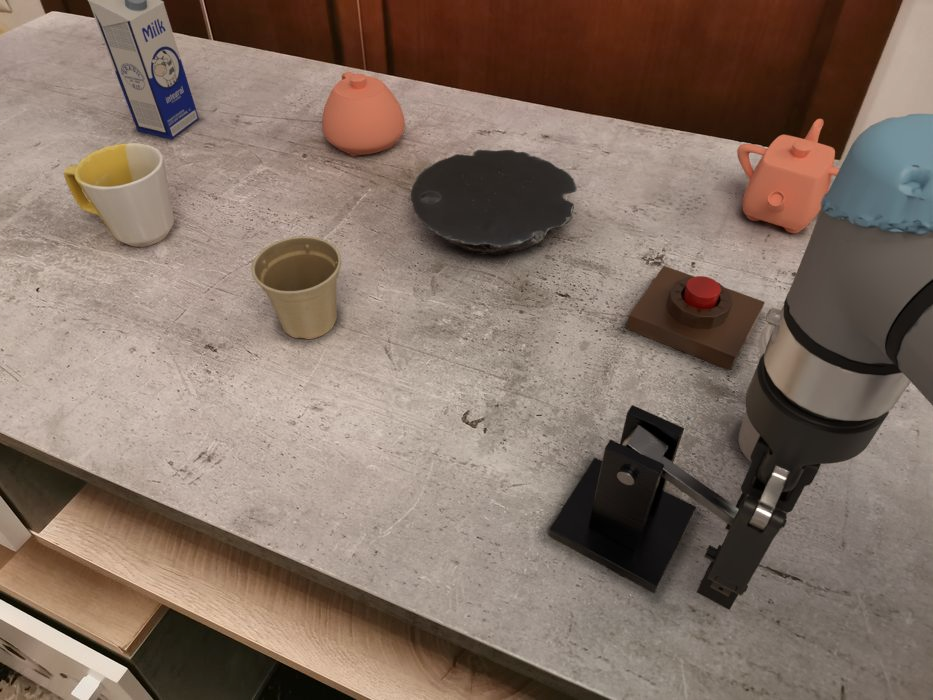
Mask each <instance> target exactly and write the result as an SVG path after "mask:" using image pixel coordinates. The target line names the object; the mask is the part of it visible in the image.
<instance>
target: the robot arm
mask: <svg viewBox="0 0 933 700" xmlns="http://www.w3.org/2000/svg"><path fill="white" fill-rule="evenodd" d="M839 168H840V170H839V172H838V174H837V175H836V176H834V177H835V178H834V179H833V182H831V184H830V187H829V191H828V192H827V193H826V194H825V195H824V196H823V199H822V202H821V210H820V211H819V213H818V216H817V218H816V221H815V224H814V227H813V229H812V233H811V235H810V239H809V240H808V242H807V245H806V247H805V250H804V252H803V256H802V258H801V261H800V263H799V266H798V268H797V271H796V273H795V276H794V278H793V281H792V282H791V286H790V287H789V290H788V292H787V294H786V297H785V299H784V302H783V305H782V308H781V309H780V308H775V307H771V308H770V309H769V310H768V312H767V313H766V314H765V322H766V323H767V325H768V324H770V325H773V326H775V328H774V330H773V332H772V334H771V336H770V339H769V341H768V344H767V346H766V349H765V353H764V354H763V355H762V357H761V358H760V357H759V359H760V361H759V360H758V363H757V366H756V368H755V370H754V373H753V375H752V378H751V380H750V383H749V385H748V387H747V390H746V393H745V398H744V399H745V400H744V401H745V402H744V405H745V411H747V415H748V417H749V420H750V422H751V424H752V425H753V427H754V428H755V430H756V431H757V432H758V433H759V435H760V436H759V438H758V441H757V443H756V445H755V447H754V449H753V451H752V454H751V457H750V458H751V462H752V463H751V462H750V466H749V467H748V470H747V472H746V474H745V476H744V478H743V480H742V483H741V485H740V491H741V493H740V496H739V498H738V500H737V502H736V505H735V506H736V507H737V508H739V510H738V512H737V514H736V516H735V518H734V520H733V522H732V524H731V526H730V525H729V524H728V523H726V525H725V527H724V529H725V530H727V533H726V535H725V536H724V539H723V541H722V543H721V544H718V546H717V547H714V546H713V545H711V544H708V546H707V549H706V551H705V553H704V555H703V558H704V559H706V560H708V561H710V563H709V564H708V567H707V568H706V570H705V573H704V574H703V577H702V579H701V581H700V583H699V585H698V588H697V590H696V593H697V594H698V595H701V596H702V597H704V598H706V599H708V600H710V601H712V602H713V603H715V604H717V605H720V607H723V608H725V609H727V610H728V611H730V610H731V609H732V606H733V605H734V603H735V602H736V600H737V598H738V596H743V595H744V593H746V592H747V590H748V588H749V583H750V581H751V579H752V577H753V576H754V574H755V572H756V571H757V569H758V568H759V565H760V564H761V562H762V560H763V558H764V556H765V555H766V553H767V551H768V549H769V547H770V546H771V544H772V543H773V541H774V539H775V538H776V536H777V535H778V534H779V532H780V531H781V529H782V528H785V526H786V525H787V522H788V519H787V518H788V514H789V513H791V512H792V511H793V510H794V508H795V506H796V504H797V502H798V500H799V498H800V497H801V495H802V493H803V491H804V489H805V488H806V487H808V486H810V485H811V484H812V483H813V482H814V480H815V478H816V476H817V474H818V472H819V470H820V469H821V465H827V464H829V465H830V464H839V463H843V462H846V461H849V460H851V459H854V458H855V457H857V456H858V455H860V454H861V453H863V452H864V451H865V449H866V448H867V447H868V446H869V445H870V443H871V442H872V440H873V439H874V437H875V435H876V434H877V432H878V431H879V429H880V428H881V426H882V425H883V423H884V421H885V420H886V418H887V417H888V415H889V413H890V411H892V410H893V408H895V405H896V404H897V403H898V401H899V400H900V399H901V397H902V396H903V394H904V392H905V391H906V389H907V388H908V387H909V385H910V384H912V385H914V387H915V388H916V389H917V391H919V392H920V393H921V395H922V396H923V397H924V398H925V399H926V400H927V402H929V404H931V406H933V113H909V114H907V115H904V116H899V117H898V116H897V117H896V116H895V117H893V116H892V117H888V118H885V119H883V120H881V121H878V122H875V123H874V124H872V125H869V126H868V127H867V128H866V129H864V130H863V131H862V132H861V133H860V134H858V136H857V137H856V139H855V140H854V141H853V143H851V146H850V148H849V150H848V152H847V154H846V156H845V158H844V160H843V162H842V164H841V165H840V167H839Z"/></svg>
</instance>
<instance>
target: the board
mask: <svg viewBox="0 0 933 700" xmlns="http://www.w3.org/2000/svg"><path fill="white" fill-rule="evenodd" d="M577 191H578V186H577V184H576V180H575V178H574V177H573V176H572V175H571V173H569V172H568V171H565V170H564V169H563V168H559V167H558V166H556V165H555V164H554V163H552V162H551V161H550V160H546V159H543V158H541V157H539V156H536V155H530V153H528V152H525V151H515V150H514V149H501V150H491V149H476V150H475V151H473V153H472V155H471V154H462V153H461V154H460V153H455V154H453V155H451V156H449V157H444V158H443V159H441V160H438V161H435V162H434V163H432V164H430V166H428V167H426V168H425V169H424V170H423V171H421V172H420V173H418V176H417V177H416V179H415V181H414V183H413V185H412V187H411V190H410V201H411V204H412V209H413V211H414V213H415V215H416V216H417V219H418V220H419V222H421V223H422V224H423V225H424V226H425V227H426V228H427V229H428V230H430V231H431V232H433V233H434V234H436V235H437V236H439V237H441V238H442V239H444V240H446V241H447V242H449V243H451V244H452V245H455V246H456V247H458V248H459V249H460V250H461V251H462V250H463V251H464V252H466V253H470V254H471V253H472V254H478V255H491V256H501V255H503V254H504V255H505V254H506V253H511V252H517V251H523V250H526V249H529V248H531V247H534V245H538V244H539V243H540V242H542V241H544V239H545V237H546V236H547V233H548V232H549V231H551V230H556V229H561V228H563V227H564V226H566V225H567V224H568V223H570V222H571V221H572V220H573V218H574V214H573V212H574V209H575V203H573V202H571V201H569V200H567V199H566V198H565V197H564V196H565V195H568V194H569V195H570V194H572V193H573V194H574V193H576V192H577Z"/></svg>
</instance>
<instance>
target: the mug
mask: <svg viewBox="0 0 933 700" xmlns="http://www.w3.org/2000/svg"><path fill="white" fill-rule="evenodd" d="M63 176H64V179H65V182H66V185H67V188H68V190H69V191H70V194H71V195H72V197H73V199H74V201H75V203H76V204H77V205H78V206H79V208H80V209H81V210H83V212H86V213H89V214H92V215H94V216H98V217H100V219H101V220H102V222H103V223H104V224H105V226H106V228H107V229H108V231H109V232H110V234H111V235H112V236H113V238H114V239H115V240H117V241H118V242H121V243H123V244H126V245H128V246H131V247H135V248H136V247H137V248H143V247H149V246H153V245H155V244H158V243H160V242H161V241H163V240H164V239H165V238H166V237H167V236H168V234H169V233H170V231H171V230H172V228H173V226H174V222H175V215H174V210H173V205H172V200H171V194H170V188H169V187H170V186H169V183H168V176H167V170H166V165H165V159H164V156H163V154H162V152H161V151H160V150H159V149H157V148H156V147H155V146H152V145H149V144H145V143H139V142H129V143H128V142H127V143H119V144H114V145H109V146H106V147H103V148H102V147H101V148H100V149H97V150H95V151H93V152H91V153H89V154H88V155H86V156H85V157H83V158H82V159H81V160H80V161H79V162H78V164H72V165H69V166H67V167H66V168H65V169H64V171H63Z"/></svg>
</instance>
